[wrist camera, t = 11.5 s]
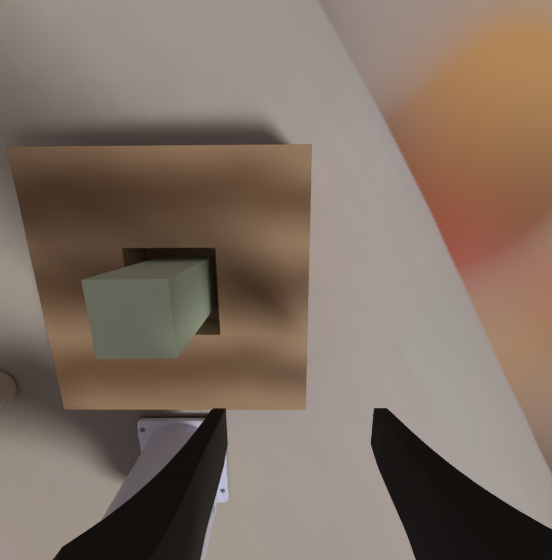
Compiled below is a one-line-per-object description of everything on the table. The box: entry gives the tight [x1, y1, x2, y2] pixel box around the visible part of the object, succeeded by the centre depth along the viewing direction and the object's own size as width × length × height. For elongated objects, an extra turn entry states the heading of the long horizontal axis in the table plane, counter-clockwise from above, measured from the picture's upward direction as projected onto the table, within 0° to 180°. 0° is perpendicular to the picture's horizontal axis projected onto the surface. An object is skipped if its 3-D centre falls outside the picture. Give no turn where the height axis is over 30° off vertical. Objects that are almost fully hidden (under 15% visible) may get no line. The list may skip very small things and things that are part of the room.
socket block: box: [7, 144, 312, 410], centre depth 19 cm, size 18×18×4 cm
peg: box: [81, 256, 216, 359], centre depth 16 cm, size 4×4×8 cm
